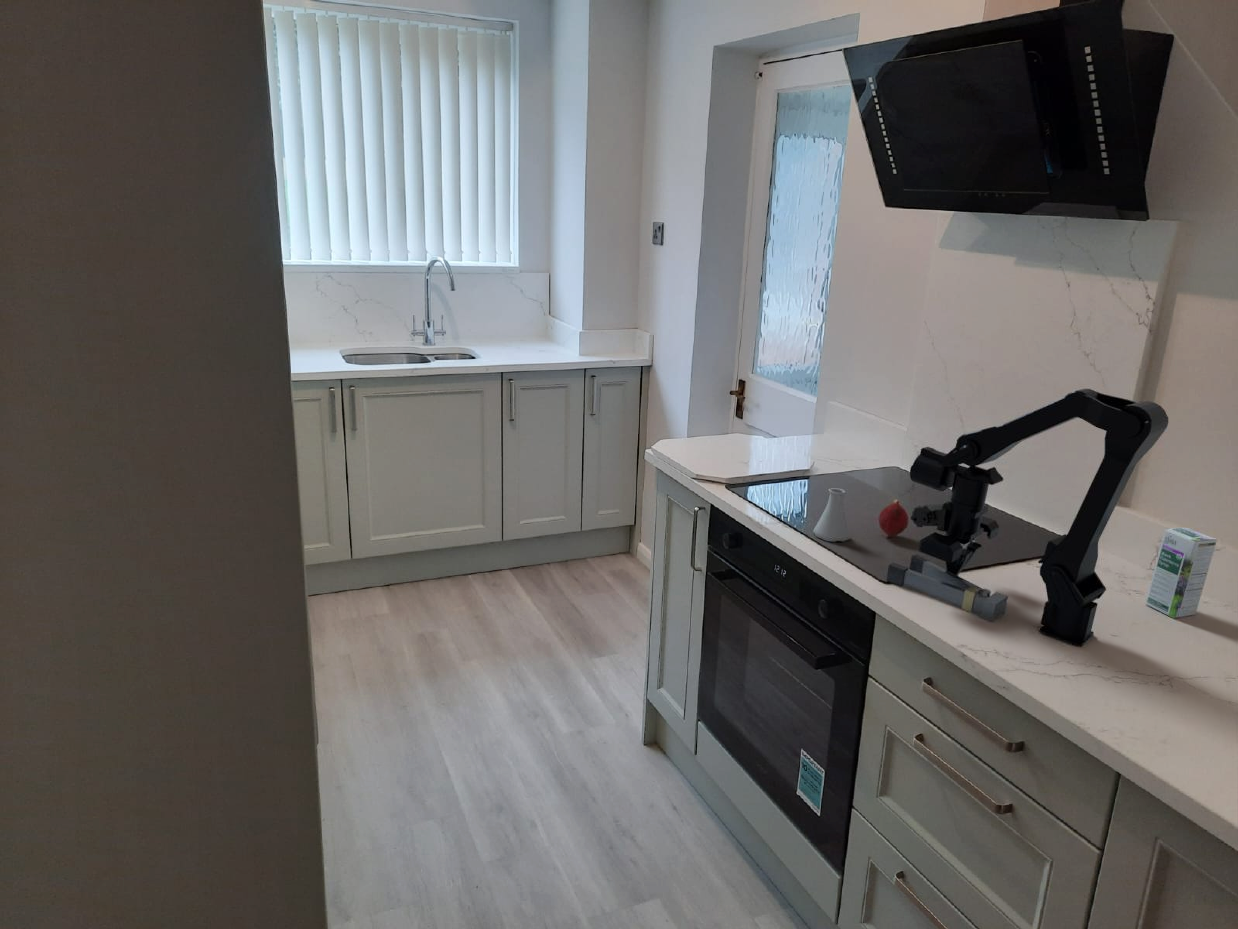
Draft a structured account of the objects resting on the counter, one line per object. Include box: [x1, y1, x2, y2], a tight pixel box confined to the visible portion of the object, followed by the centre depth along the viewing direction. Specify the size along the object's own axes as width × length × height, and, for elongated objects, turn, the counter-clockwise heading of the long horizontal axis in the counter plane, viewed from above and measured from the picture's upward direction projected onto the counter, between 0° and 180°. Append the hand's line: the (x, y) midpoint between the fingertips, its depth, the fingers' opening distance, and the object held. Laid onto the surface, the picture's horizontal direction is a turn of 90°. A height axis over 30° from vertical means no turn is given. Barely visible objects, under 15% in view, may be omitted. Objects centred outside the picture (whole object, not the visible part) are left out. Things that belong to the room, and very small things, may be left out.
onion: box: [878, 499, 909, 538], centre depth 175 cm, size 6×6×8 cm
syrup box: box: [1145, 527, 1218, 619], centre depth 147 cm, size 6×6×14 cm
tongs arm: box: [909, 554, 992, 597], centre depth 152 cm, size 17×2×3 cm, turn 27°
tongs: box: [885, 562, 1009, 623], centre depth 149 cm, size 20×5×4 cm, turn 45°
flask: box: [812, 487, 851, 542], centre depth 174 cm, size 7×7×10 cm
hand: (951, 579), depth 154 cm, fingers closed
